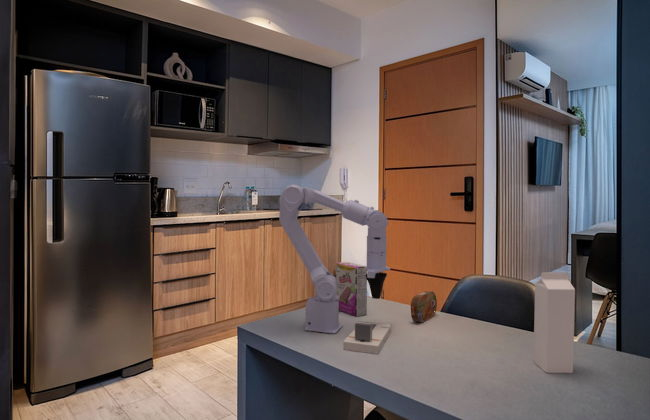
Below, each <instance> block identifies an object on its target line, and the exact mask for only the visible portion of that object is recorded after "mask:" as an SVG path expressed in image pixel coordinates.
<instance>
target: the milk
mask: <svg viewBox="0 0 650 420" xmlns="http://www.w3.org/2000/svg"><path fill="white" fill-rule="evenodd" d="M540 277H541V279H540V280H537V282H535V283H534V317H533V318H534V322H533V323H534V325H533V327H534V328H533V363H534V364H535V365H536V366H538V367H539V368H540V369H541V370H542V371H544V373H546V374H547V373H548V374H573V373H574V349H575V345H574V343H575V342H574V341H575V310H576V307H575V305H576V301H575V300H576V288H575V287H574V286H573V285H572V283H571V282H570V280H569V274H568V273H567V272H559V271H558V272H552V271H551V272H550V271H549V272H545V271H544V272H541V276H540Z"/></svg>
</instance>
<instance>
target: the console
mask: <svg viewBox="0 0 650 420" xmlns="http://www.w3.org/2000/svg"><path fill="white" fill-rule="evenodd" d="M371 323H372V339H371V340H370V341H366V340H358V339H355V328H354V329H353V330H352V332H350V334H349V335H347V337H346V338H345V339H344V340H343V341H342V342H343V343H342V345H343V346H342V348H343V350H345V351H351V352H352V351H353V352H360V353H367V354H375V355H378V354H379V353H380V352H381V350H382V348H383V346H384V345H385V343H386V342H387V340H388V338H389V336H390V334H391V332H392V324H388V323H377V322H371Z"/></svg>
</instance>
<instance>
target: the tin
mask: <svg viewBox="0 0 650 420" xmlns="http://www.w3.org/2000/svg"><path fill="white" fill-rule="evenodd" d="M437 304H438V302H437V297H436V294H435V292H434V291H429V290H428V291H427V290H426V291H423V292H420V293H418V294H416V295H414V296H413V298H412V299H411V301H410V317H411V319H412V320H413V322H416V323H421V324H423V323H425V322H427V321H429V320H430V319H432V318H434V316H435V315H436V312H437ZM434 311H435V312H434Z"/></svg>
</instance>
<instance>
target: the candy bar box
mask: <svg viewBox="0 0 650 420" xmlns="http://www.w3.org/2000/svg"><path fill="white" fill-rule="evenodd" d="M366 266H367V265H362V264H358V263H353V262H348V261H341V262H336V263H335V277H336V279H337V281H338V286H337V293H336V295H337V296H338V297H339V311H340V312H342V313H344V314H348V315H351V316H353V317H356V318H357V317H362V316H366V315H367V310H368V309H367V307H368V305H367V304H368V302H367V301H368V300H367V297H368V296H367V295H368V294H367V293H368V292H367V290H368V284H367V283H368V281H367V279H366V274H367V270H366Z"/></svg>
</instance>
